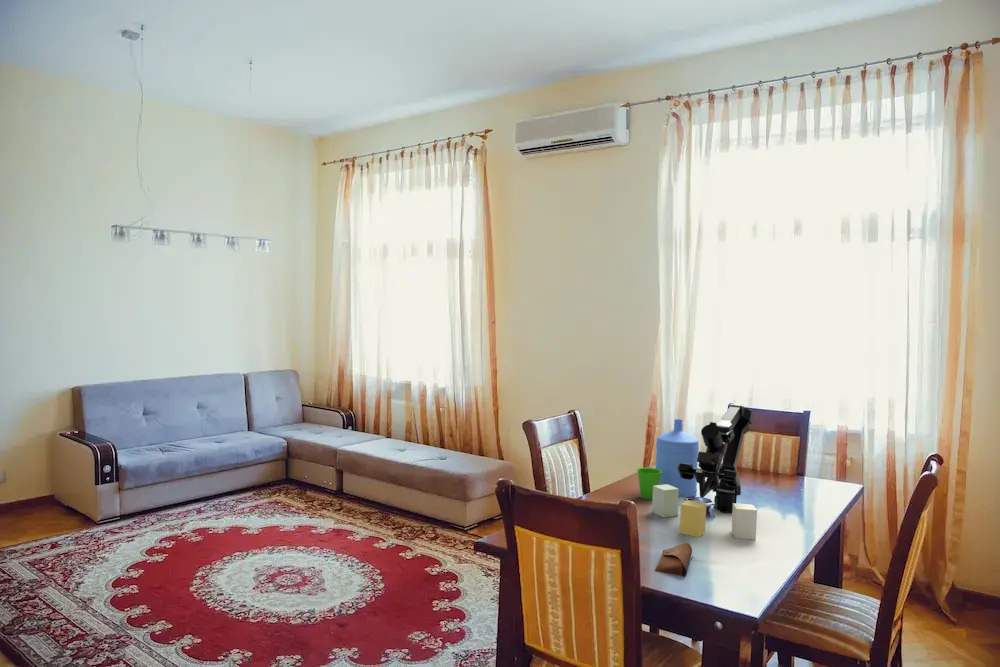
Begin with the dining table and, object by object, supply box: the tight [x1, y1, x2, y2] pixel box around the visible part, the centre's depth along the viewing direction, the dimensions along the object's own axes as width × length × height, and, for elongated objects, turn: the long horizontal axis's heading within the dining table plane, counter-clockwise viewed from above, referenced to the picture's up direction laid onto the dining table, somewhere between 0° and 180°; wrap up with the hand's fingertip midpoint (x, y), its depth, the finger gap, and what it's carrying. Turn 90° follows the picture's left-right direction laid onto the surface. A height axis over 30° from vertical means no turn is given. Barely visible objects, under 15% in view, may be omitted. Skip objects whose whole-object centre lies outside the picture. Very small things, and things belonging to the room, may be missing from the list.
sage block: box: [651, 484, 680, 518], centre depth 230 cm, size 6×6×9 cm
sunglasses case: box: [654, 542, 693, 577], centre depth 189 cm, size 18×7×7 cm
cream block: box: [731, 502, 758, 541], centre depth 210 cm, size 6×6×9 cm
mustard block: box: [679, 499, 707, 538], centre depth 211 cm, size 6×6×9 cm
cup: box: [636, 467, 662, 500], centre depth 250 cm, size 9×9×11 cm
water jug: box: [654, 418, 700, 498], centre depth 261 cm, size 16×16×28 cm
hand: (701, 496), depth 217 cm, fingers closed
